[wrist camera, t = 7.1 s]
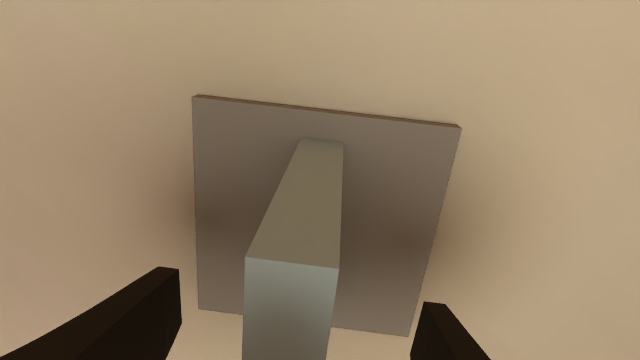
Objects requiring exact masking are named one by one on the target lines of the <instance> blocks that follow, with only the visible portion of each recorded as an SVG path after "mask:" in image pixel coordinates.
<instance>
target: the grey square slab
mask: <svg viewBox="0 0 640 360" xmlns="http://www.w3.org/2000/svg"><path fill="white" fill-rule="evenodd" d="M343 148H344V142H338V141H329V140H321V139H313V138H305V137H302V138H301V140H300V142H299V144H298V146H297V148H296V150H295V152H294V155H293V157H292V159H291V161H290V163H289V165H288V167H287V169H286V171H285V174H284V176H283V178H282V180H281V182H280V184H279V186H278V188H277V190H276V193H275V195H274V197H273V199H272V201H271V203H270V205H269V207H268V209H267V212H266V214H265V216H264V218H263V220H262V222H261V224H260V226H259V228H258V231H257V233H256V235H255V237H254V239H253V241H252V243H251V245H250V247H249V250H248V252H247V254H246V256H245V276H244V308H243V340H242V360H326V354H327V347H328V340H329V334H330V327H331V320H332V314H333V307H334V301H335V294H336V287H337V281H338V274H339V262H340V233H341V205H342V176H343Z"/></svg>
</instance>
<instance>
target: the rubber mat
mask: <svg viewBox="0 0 640 360" xmlns="http://www.w3.org/2000/svg"><path fill="white" fill-rule="evenodd" d="M192 122H193V153H194V185H195V217H196V248H197V280H198V309H202V310H210V311H217V312H225V313H232V314H240V315H243V308H244V276H245V256H246V254H247V252H248V250H249V247H250V245H251V243H252V241H253V239H254V237H255V235H256V233H257V231H258V228H259V226H260V224H261V222H262V220H263V218H264V216H265V214H266V212H267V209H268V207H269V205H270V203H271V201H272V199H273V197H274V195H275V193H276V190H277V188H278V186H279V184H280V182H281V180H282V178H283V176H284V174H285V171H286V169H287V167H288V165H289V163H290V161H291V159H292V157H293V155H294V152H295V150H296V148H297V146H298V144H299V142H300V140H301V138H302V137H305V138H313V139H321V140H329V141H338V142H344V148H343V176H342V205H341V233H340V262H339V274H338V281H337V287H336V294H335V301H334V307H333V314H332V320H331V327H336V328H344V329H351V330H358V331H366V332H373V333H381V334H388V335H396V336H403V337H408V336H409V332H410V328H411V324H412V321H413V317H414V313H415V309H416V305H417V301H418V297H419V293H420V289H421V286H422V282H423V278H424V274H425V270H426V266H427V262H428V258H429V254H430V251H431V247H432V243H433V239H434V235H435V231H436V227H437V223H438V220H439V216H440V212H441V208H442V204H443V200H444V196H445V192H446V188H447V185H448V181H449V177H450V173H451V169H452V165H453V161H454V157H455V153H456V150H457V146H458V142H459V138H460V134H461V130H462V128H461V127H459V126H458V125H454V124H445V123H437V122H428V121H420V120H411V119H402V118H394V117H385V116H377V115H368V114H360V113H351V112H343V111H334V110H325V109H317V108H308V107H300V106H291V105H283V104H274V103H266V102H257V101H248V100H240V99H231V98H223V97H214V96H206V95H196V96H193V97H192Z"/></svg>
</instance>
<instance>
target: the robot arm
mask: <svg viewBox="0 0 640 360" xmlns="http://www.w3.org/2000/svg"><path fill="white" fill-rule="evenodd" d="M181 324H182V318H181V299H180V281H179V269H174V268H166V267H157V268H155V269H153V270H152V271H150V272H148V273H147V274H145V275H144V276H142V277H140V278H139V279H137V280H136V281H134V282H132V283H131V284H129V285H128V286H126V287H125V288H123V289H121V290H120V291H118V292H117V293H115V294H113V295H112V296H110V297H109V298H107V299H105V300H104V301H102V302H100V303H99V304H97V305H96V306H94V307H92V308H91V309H89V310H87V311H86V312H84V313H82V314H80V315H79V316H77V317H75V318H73V319H72V320H70V321H68V322H66V323H65V324H63V325H61V326H59V327H58V328H56V329H54V330H52V331H51V332H49V333H47V334H45V335H43V336H41V337H40V338H38V339H36V340H34V341H32V342H30V343H28V344H26V345H24V346H22V347H20V348H18V349H16V350H14V351H12V352H10V353H8V354H6V355H4V356H2V357H0V360H165V359H166V357H167V355H168V353H169V351H170V349H171V347H172V345H173V342H174V340H175V338H176V336H177V333H178V331H179V329H180V326H181ZM410 360H491V359H490V358H489V357H488V356H487V355H486V353H485V352H484V351H483V350H482V349H481V347H480V346H479V345H478V344H477V343H476V341H475V340H474V339H473V338H472V336H471V335H470V334H469V333H468V331H467V330H466V329H465V328H464V327H463V325H462V324H461V323H460V322H459V320H458V319H457V318H456V317H455V315H454V314H453V313H452V312H451V310H450V309H449V308H448V307H447V306H446V304H440V303H433V302H425V301H424V303H423V307H422V311H421V315H420V318H419V322H418V326H417V330H416V333H415V337H414V341H413V345H412V348H411V352H410Z"/></svg>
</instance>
